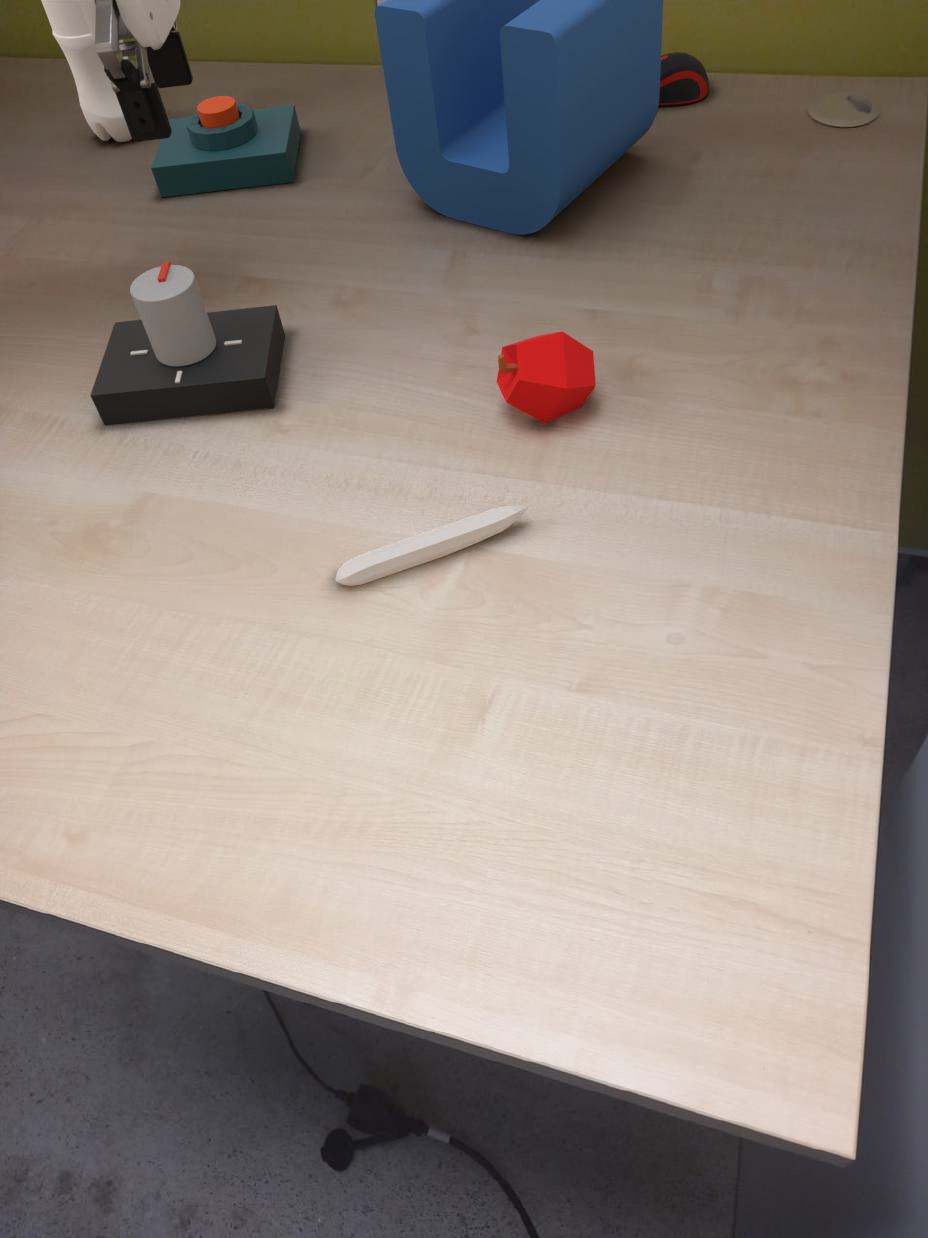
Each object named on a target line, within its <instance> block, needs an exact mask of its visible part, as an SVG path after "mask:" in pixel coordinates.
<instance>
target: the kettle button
mask: <svg viewBox="0 0 928 1238" xmlns="http://www.w3.org/2000/svg"><path fill="white" fill-rule="evenodd" d="M236 103H237V102H236V99H235V98H234V97H233V96H229V95H217V96H212V97H208V98H206V99H204V100H202V101H201V102H200V103H199V104H197V106H196V112H198V114H199V118H200V121H201V124H202V127H204V128H210V129H212V128H221V127H225V126H227V125H230V124H233V123H235V122H236V121H237V120H239V119H240V117H239V113H238V109H237V105H236Z"/></svg>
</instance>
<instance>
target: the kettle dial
mask: <svg viewBox="0 0 928 1238" xmlns="http://www.w3.org/2000/svg"><path fill="white" fill-rule="evenodd" d="M198 285H199V284H198V282H197V279H196V277H195V273H194V271H192V269H191V268H189V267H187V266H184V265H179V264H171V263H170V261H162V263H161V266H156V267H153V268H151V269H148V270H146V271H144V272H143V273H141V274H140V275H138V276H137V277H136V278H135V279H134V280H133V281H132V283H130V287H129V292H130V295H131V298H132V300H133V303H134V306H135V309H136V311H137V312H138V316H139V318H140V320H142V323H143V325H144V328H145V330H146V333H147V335H148V338H149V340H150V343H151V345H152V348H153V350H154V353H155V355H156V358H157V359H158V360H159V361H160V362H161V363H163V364H165V365H168V366H177V367H178V366H186V365H190V364H194V363H196V362H199V361H201V360H203V359H204V358H206V357H207V356H208V355H210V354H211V353H212V351H213V350H214V348H215V346H216V338H215V335H214V332H213V329H212V326H211V323H210V320H209V317H208V314H207V308H206V306H205V302H204V300H203V297H202V294H201V292H200V287H199V286H198Z"/></svg>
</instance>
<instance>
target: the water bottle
mask: <svg viewBox="0 0 928 1238" xmlns="http://www.w3.org/2000/svg"><path fill="white" fill-rule="evenodd" d="M40 1H41V4H42V6H43V8H44V9H43V10H44V11H45V14H46V17H47V19H48V22H49V25H50V27H51V30H52V32H51V34H52V36H53V37H54V39H55V40H56V42H57V43H58V46H59V47H60V49H61V51H62V52H63V54H64V57H65V58H66V60H67V63H68V66H69V69H70V71H71V73H72V74H71V75H72V77H73V80H74V83H75V88H76V91H77V95H78V100H79V107H80V109H81V111H82V114H83V116H84V118H85V121H86V123H87V125H88V126H89V128H90V129H91V131H92V132H93V133H94V134H95V135H96V136H97V137H98V138H99V139H100V140H101V141H103V142H108V141H110V140H111V138H112V139H113V140H114V141H115V142H118V143H126V142H129V141H131V140H133V139H132V138H131V135H130V132H129V129H128V127H127V124H126V121H125V118H124V116H123V113H122V110H121V107H120V104H119V102H118V99H117V96H116V93H115V92H114V91H113V89H112V87H111V83H110V79H109V78H108V76H106V73H105V71H104V67H105V66H104V65H103V63H102V61H101V60H100V58H99V56H98V54H97V52H96V49H95V41H94V39H93V37H92V34H91V32H90V29H89V27H88V24H87V22H86V19H85V16H84V13H83V11H82V8H81V5H80V2H79V0H40ZM122 42H124V39H123V40H120V41H119V43H122ZM123 59H128V60H129V61H130V58H129V56H126V57H123Z"/></svg>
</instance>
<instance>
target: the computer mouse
mask: <svg viewBox="0 0 928 1238" xmlns="http://www.w3.org/2000/svg"><path fill="white" fill-rule="evenodd" d="M709 89H710V84H709V77H708V73H707V70H706V68H705V66H704V65H703V63H702V62H701V61H700V60H699V59H698V58H697V57H695V56H693V55H692V54H689V53H687V52H678V51H677V52H669V53H665V54H661V71H660V96H659V106H658V108H660V107H677V106H686V105H692V104H695V103H698V102H700V101H702V100H703V99H705V98H706V96H707V95H708V93H709Z"/></svg>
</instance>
